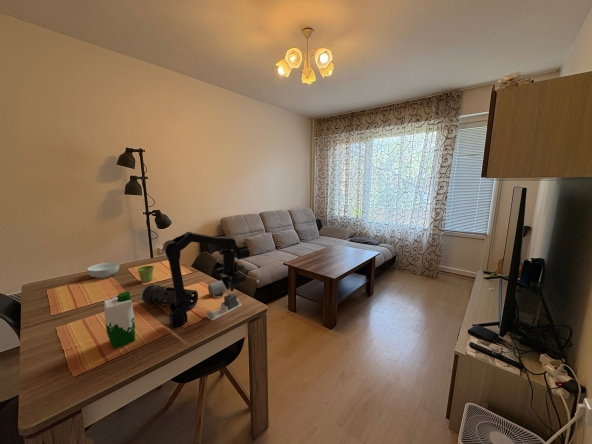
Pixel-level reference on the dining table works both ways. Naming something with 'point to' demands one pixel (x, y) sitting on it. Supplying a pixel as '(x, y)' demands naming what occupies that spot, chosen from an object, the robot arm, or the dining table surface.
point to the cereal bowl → (103, 270)
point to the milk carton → (119, 320)
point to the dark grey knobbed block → (230, 301)
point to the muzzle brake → (164, 295)
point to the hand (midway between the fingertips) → (230, 290)
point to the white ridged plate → (221, 310)
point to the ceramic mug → (216, 289)
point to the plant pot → (145, 273)
